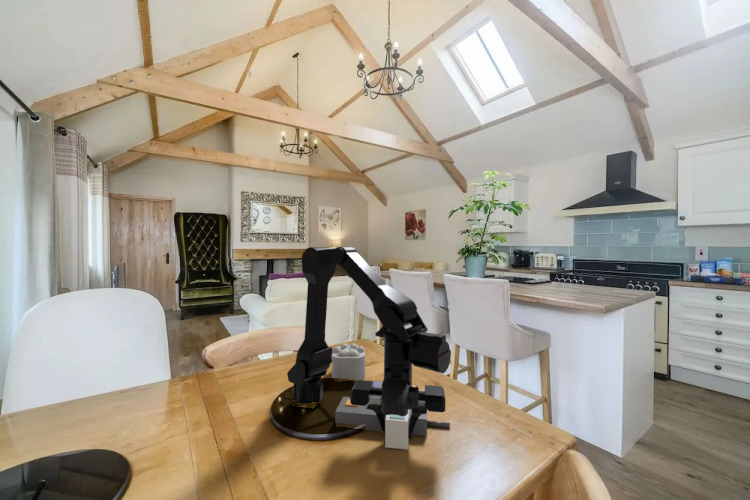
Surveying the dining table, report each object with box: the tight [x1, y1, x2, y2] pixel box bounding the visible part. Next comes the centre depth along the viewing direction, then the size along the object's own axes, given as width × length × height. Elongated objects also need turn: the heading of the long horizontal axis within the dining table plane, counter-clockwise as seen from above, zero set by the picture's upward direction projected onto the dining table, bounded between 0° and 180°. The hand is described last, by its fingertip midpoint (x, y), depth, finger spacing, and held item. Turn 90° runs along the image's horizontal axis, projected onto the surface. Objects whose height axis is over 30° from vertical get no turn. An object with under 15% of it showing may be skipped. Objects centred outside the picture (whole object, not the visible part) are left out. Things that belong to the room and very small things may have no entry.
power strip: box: [334, 396, 451, 437], centre depth 72 cm, size 25×7×4 cm, turn 81°
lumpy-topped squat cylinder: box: [331, 342, 366, 381], centre depth 100 cm, size 10×13×9 cm
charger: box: [384, 410, 410, 450], centre depth 66 cm, size 4×7×6 cm
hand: (397, 436), depth 65 cm, fingers closed on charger, 4 cm apart
